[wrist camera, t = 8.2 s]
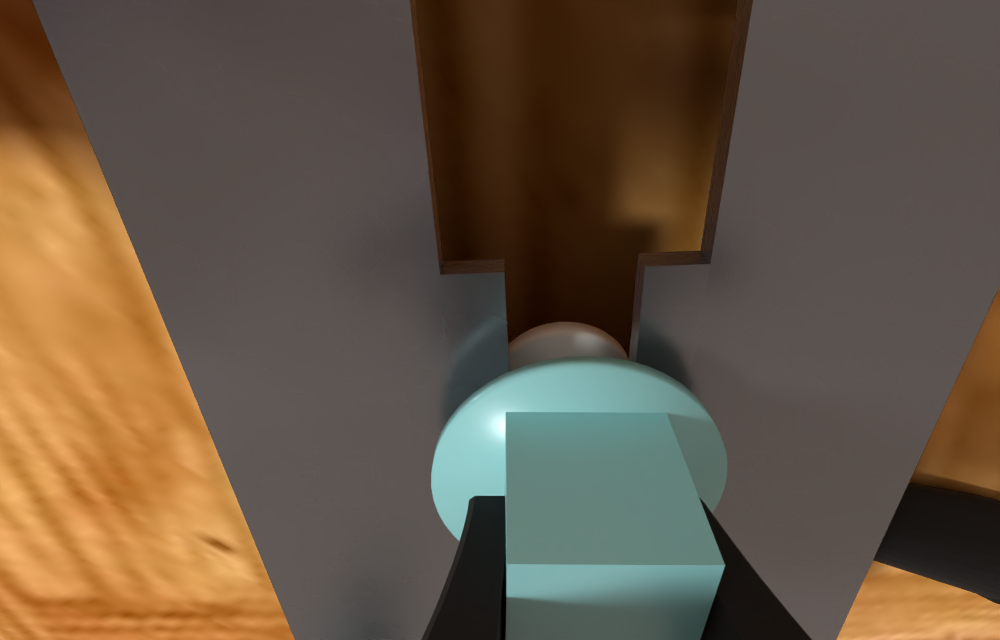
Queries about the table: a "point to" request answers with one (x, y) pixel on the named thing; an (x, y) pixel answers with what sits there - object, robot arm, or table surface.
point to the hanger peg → (590, 489)
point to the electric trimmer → (946, 539)
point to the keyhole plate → (481, 283)
